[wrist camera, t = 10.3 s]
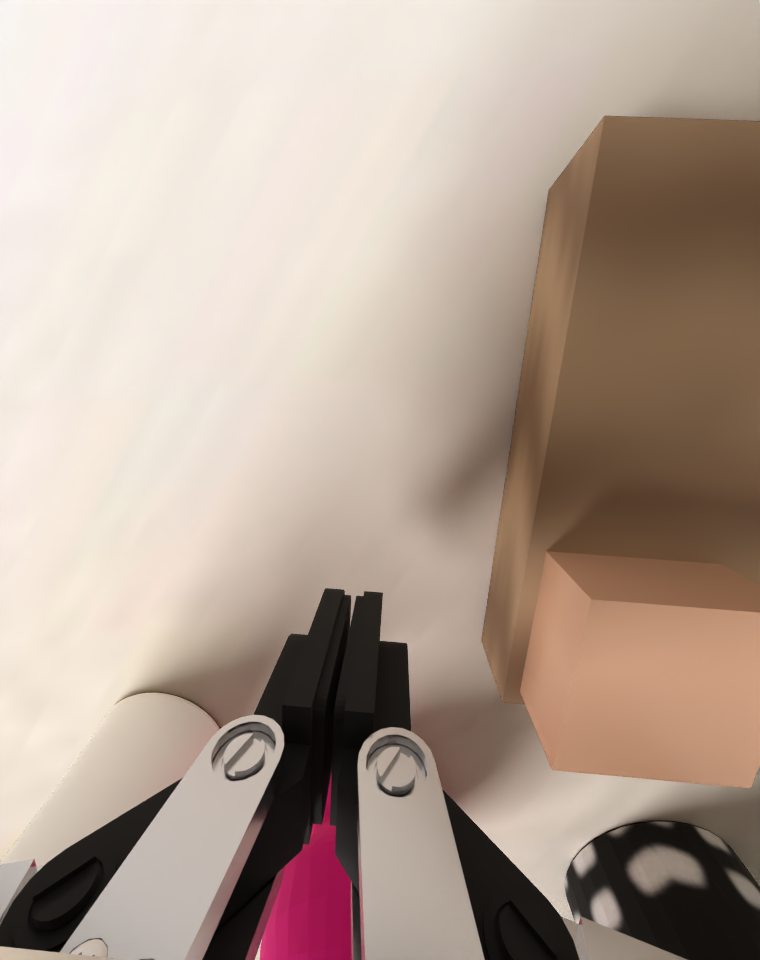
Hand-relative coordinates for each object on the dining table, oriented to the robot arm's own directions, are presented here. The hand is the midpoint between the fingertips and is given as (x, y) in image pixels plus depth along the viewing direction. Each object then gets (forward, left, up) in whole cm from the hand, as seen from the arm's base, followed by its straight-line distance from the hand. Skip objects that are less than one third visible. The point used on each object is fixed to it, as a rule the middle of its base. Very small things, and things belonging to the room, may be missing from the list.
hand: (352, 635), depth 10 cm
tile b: (0, +8, -1) cm, 8 cm away
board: (-5, +10, -4) cm, 12 cm away
